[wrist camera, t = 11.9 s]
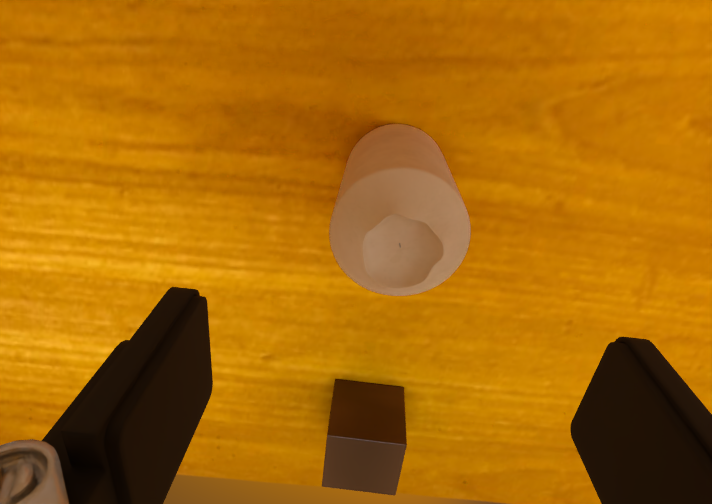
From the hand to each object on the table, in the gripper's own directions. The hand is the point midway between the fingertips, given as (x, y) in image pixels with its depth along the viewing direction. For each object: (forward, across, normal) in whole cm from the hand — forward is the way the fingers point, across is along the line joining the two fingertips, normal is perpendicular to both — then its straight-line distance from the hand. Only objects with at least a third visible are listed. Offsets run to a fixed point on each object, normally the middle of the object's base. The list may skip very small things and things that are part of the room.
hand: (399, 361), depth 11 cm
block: (+16, -1, +19) cm, 25 cm away
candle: (+16, 0, +1) cm, 16 cm away
